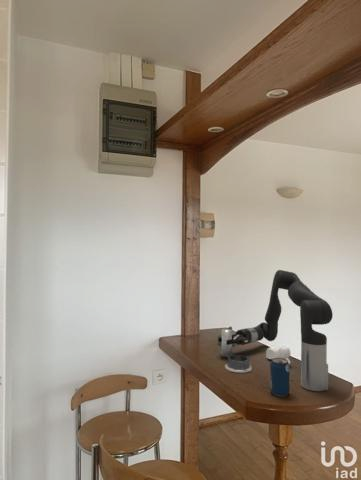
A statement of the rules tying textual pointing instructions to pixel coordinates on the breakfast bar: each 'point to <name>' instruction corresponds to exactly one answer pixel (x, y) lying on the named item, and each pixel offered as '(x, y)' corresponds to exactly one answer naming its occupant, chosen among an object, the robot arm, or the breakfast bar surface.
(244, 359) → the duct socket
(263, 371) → the breakfast bar surface
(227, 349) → the pipe
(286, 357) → the white crumpled piece
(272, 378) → the soda can
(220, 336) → the dark teal irregular lump
